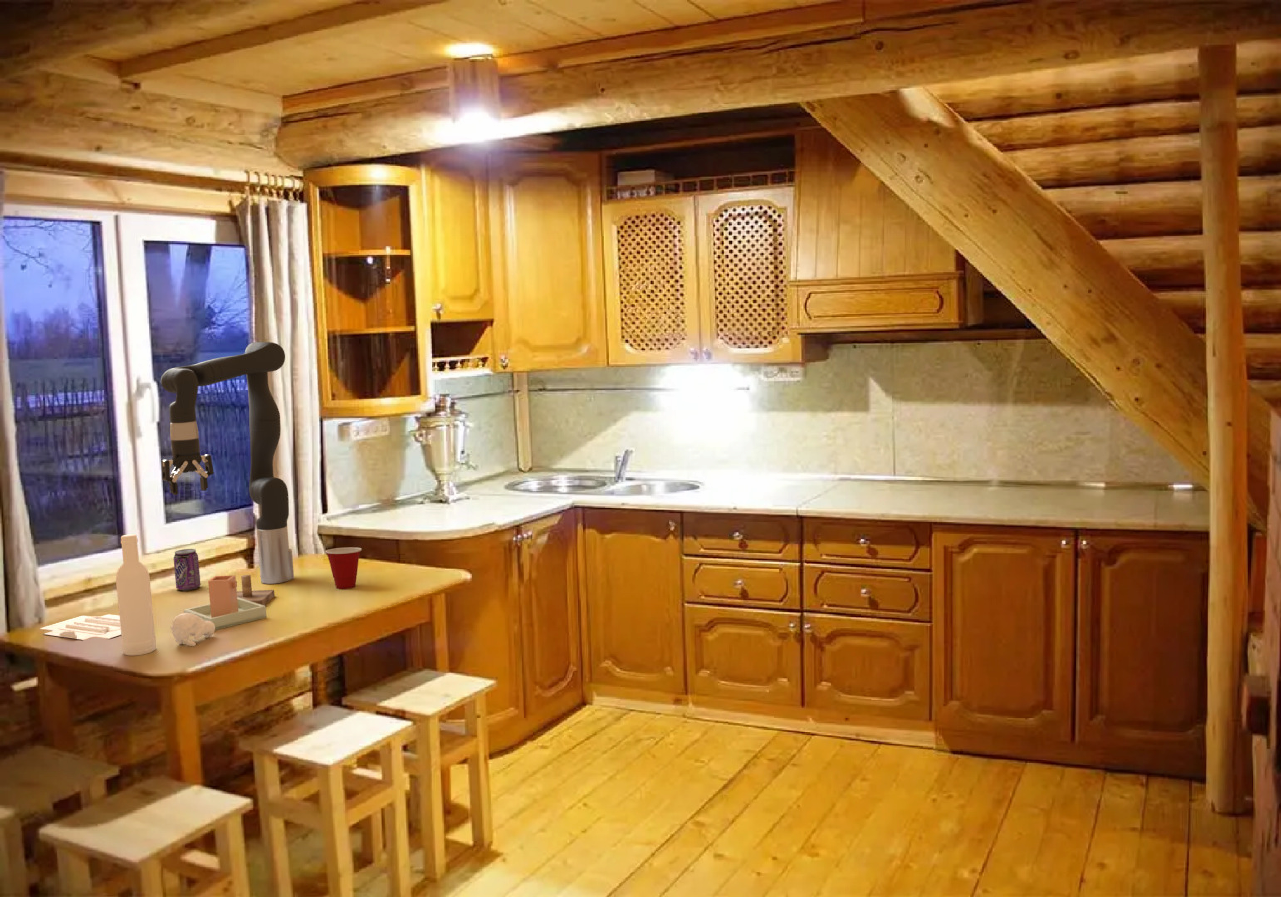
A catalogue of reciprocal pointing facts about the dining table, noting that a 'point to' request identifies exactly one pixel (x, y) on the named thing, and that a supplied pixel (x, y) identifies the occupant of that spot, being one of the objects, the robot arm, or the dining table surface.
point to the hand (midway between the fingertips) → (189, 492)
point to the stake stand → (254, 592)
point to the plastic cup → (344, 566)
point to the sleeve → (223, 595)
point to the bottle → (134, 601)
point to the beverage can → (186, 569)
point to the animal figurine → (191, 628)
